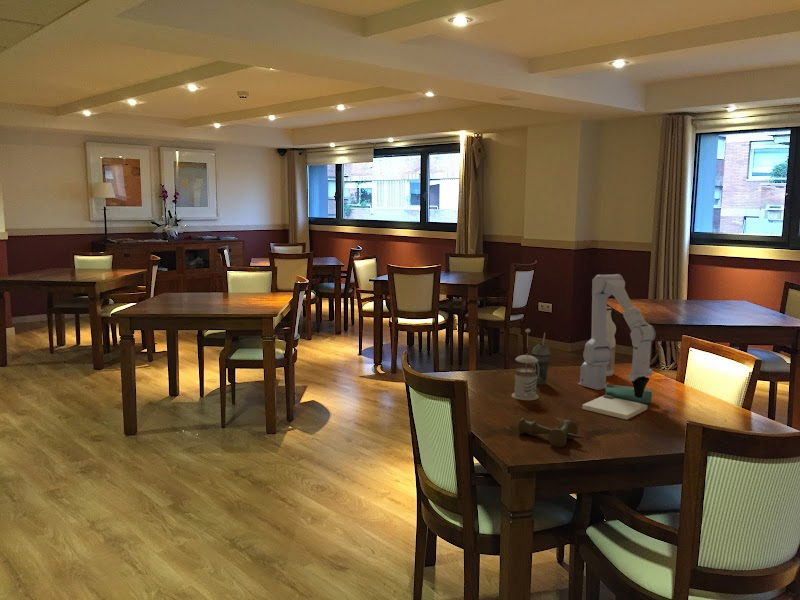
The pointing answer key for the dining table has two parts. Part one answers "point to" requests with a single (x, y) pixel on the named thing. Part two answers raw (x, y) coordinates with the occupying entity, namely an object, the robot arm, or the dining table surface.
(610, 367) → the fruit juice
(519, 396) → the french press
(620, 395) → the dark green rectangular beam
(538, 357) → the beverage cup
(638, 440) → the dining table surface
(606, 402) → the stool seat
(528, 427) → the kendama
